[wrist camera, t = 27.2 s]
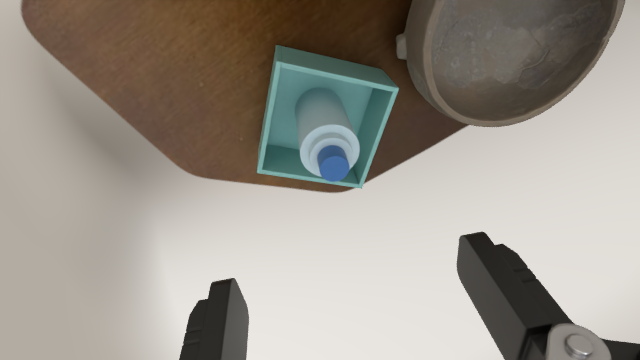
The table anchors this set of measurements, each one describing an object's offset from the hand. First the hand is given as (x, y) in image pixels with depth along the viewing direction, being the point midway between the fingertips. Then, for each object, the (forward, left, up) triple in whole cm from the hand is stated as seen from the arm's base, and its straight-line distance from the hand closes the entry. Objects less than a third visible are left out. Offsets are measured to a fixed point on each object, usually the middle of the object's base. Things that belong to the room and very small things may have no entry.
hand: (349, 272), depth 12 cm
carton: (+2, -6, -30) cm, 31 cm away
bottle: (+2, -6, -30) cm, 30 cm away
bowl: (+18, +4, -30) cm, 35 cm away
